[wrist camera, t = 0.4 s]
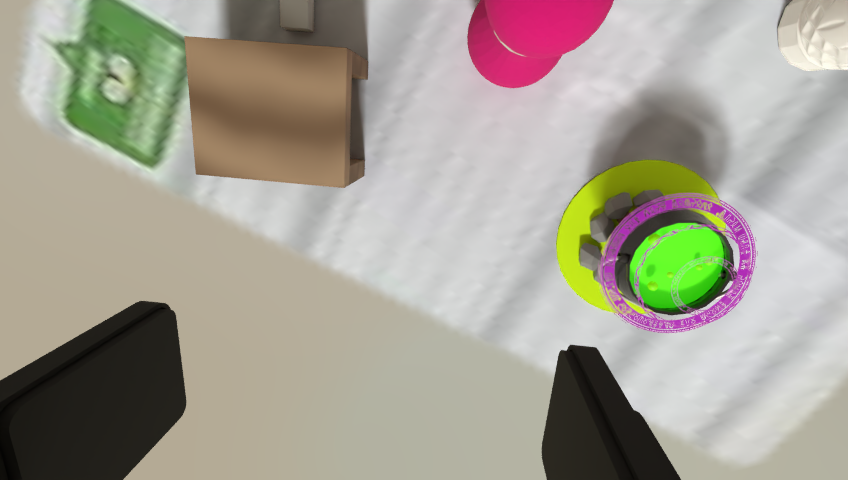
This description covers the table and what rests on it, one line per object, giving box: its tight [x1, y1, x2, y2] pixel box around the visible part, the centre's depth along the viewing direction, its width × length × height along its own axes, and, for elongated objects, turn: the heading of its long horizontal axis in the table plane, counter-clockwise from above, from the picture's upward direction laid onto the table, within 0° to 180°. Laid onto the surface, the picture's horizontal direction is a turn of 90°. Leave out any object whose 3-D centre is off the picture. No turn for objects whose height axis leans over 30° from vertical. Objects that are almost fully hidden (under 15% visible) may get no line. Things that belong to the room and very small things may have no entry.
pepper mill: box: [467, 0, 614, 88], centre depth 25 cm, size 7×7×20 cm
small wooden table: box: [184, 36, 368, 188], centre depth 34 cm, size 10×12×7 cm
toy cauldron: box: [556, 160, 758, 333], centre depth 33 cm, size 15×15×11 cm
